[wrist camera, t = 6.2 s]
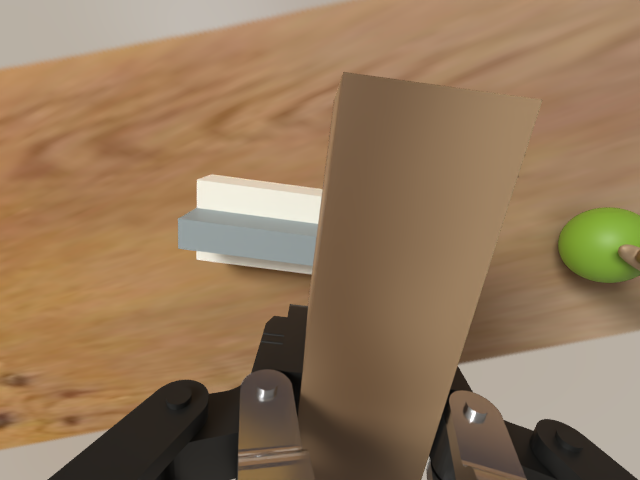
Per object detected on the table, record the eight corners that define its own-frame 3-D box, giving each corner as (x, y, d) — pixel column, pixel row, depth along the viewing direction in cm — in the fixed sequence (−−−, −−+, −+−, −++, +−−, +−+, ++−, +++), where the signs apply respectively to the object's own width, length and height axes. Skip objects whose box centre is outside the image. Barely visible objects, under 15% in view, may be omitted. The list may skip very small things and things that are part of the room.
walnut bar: (441, 115, 10) (542, 99, 6) (360, 468, 15) (376, 619, 11) (334, 100, 10) (343, 71, 5) (287, 461, 15) (271, 610, 10)
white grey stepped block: (338, 191, 25) (341, 208, 19) (328, 261, 27) (328, 295, 21) (212, 174, 25) (177, 186, 19) (210, 246, 27) (178, 276, 21)
